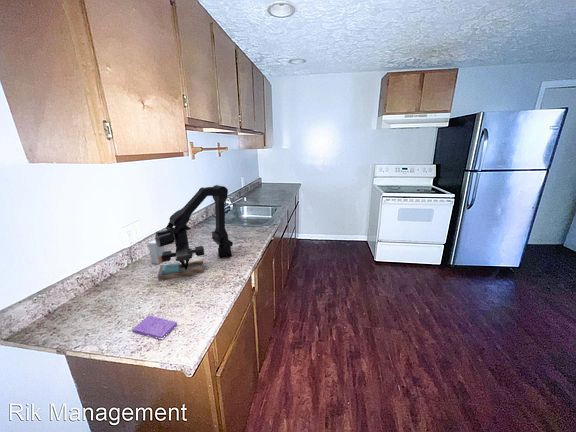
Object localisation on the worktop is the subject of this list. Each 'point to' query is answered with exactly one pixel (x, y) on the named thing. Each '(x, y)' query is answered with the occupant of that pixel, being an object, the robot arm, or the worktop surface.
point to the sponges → (154, 326)
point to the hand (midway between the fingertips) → (186, 268)
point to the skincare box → (155, 252)
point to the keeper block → (171, 268)
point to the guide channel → (183, 273)
